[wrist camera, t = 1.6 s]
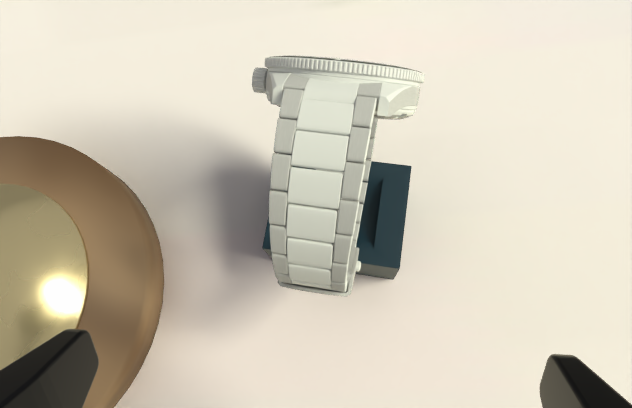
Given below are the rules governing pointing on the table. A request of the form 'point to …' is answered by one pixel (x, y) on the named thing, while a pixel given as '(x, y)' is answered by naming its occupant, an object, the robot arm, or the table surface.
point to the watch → (334, 170)
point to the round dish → (76, 261)
